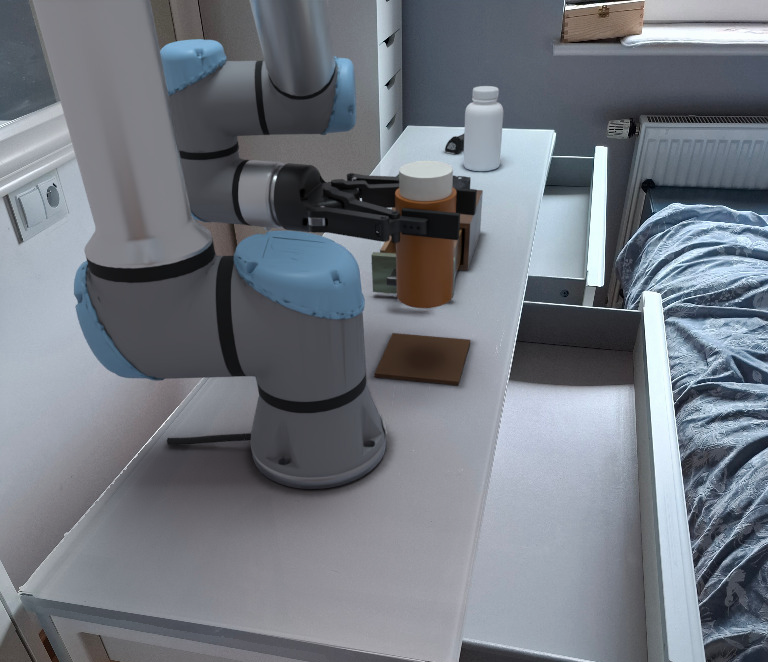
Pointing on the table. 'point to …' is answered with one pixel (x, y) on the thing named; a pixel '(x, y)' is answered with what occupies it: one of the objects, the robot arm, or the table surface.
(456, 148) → the electric trimmer
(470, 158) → the pill bottle
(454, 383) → the mat
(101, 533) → the table surface
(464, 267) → the cabinet
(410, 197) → the pill bottle
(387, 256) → the drawer
